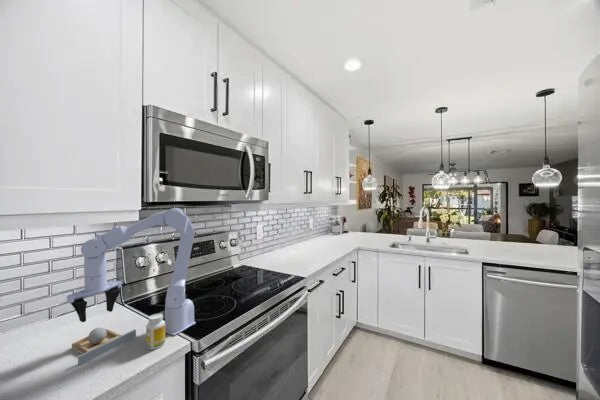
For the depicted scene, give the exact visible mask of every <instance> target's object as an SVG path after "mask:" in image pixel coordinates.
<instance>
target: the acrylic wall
mask: <svg viewBox="0 0 600 400" xmlns="http://www.w3.org/2000/svg"><path fill="white" fill-rule="evenodd" d="M120 335H121V336H119V337H117V338H115V339H113V340H111V341H109V342H107V343H105V344H103V345H100V346H98V347H96V348H94V349H92V350H90V351H88V352H86V353H84V354H82V353H81V354H79V355H78V356H77V365H78V366H81V365H83V364H86V363H87V362H90V361H91V360H93V359H95V358H97V357H99V356H101V355H103V354H105V353H108V352H109V351H111V350H113V349H115V348H117V347H119V346H121V345H123V344H125V343H127V342H130V341H131V340H133V339H135V338H136V337H137V329H135V328H134V329H132V330H130V331H128V332H126V333H123V334H120Z"/></svg>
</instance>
